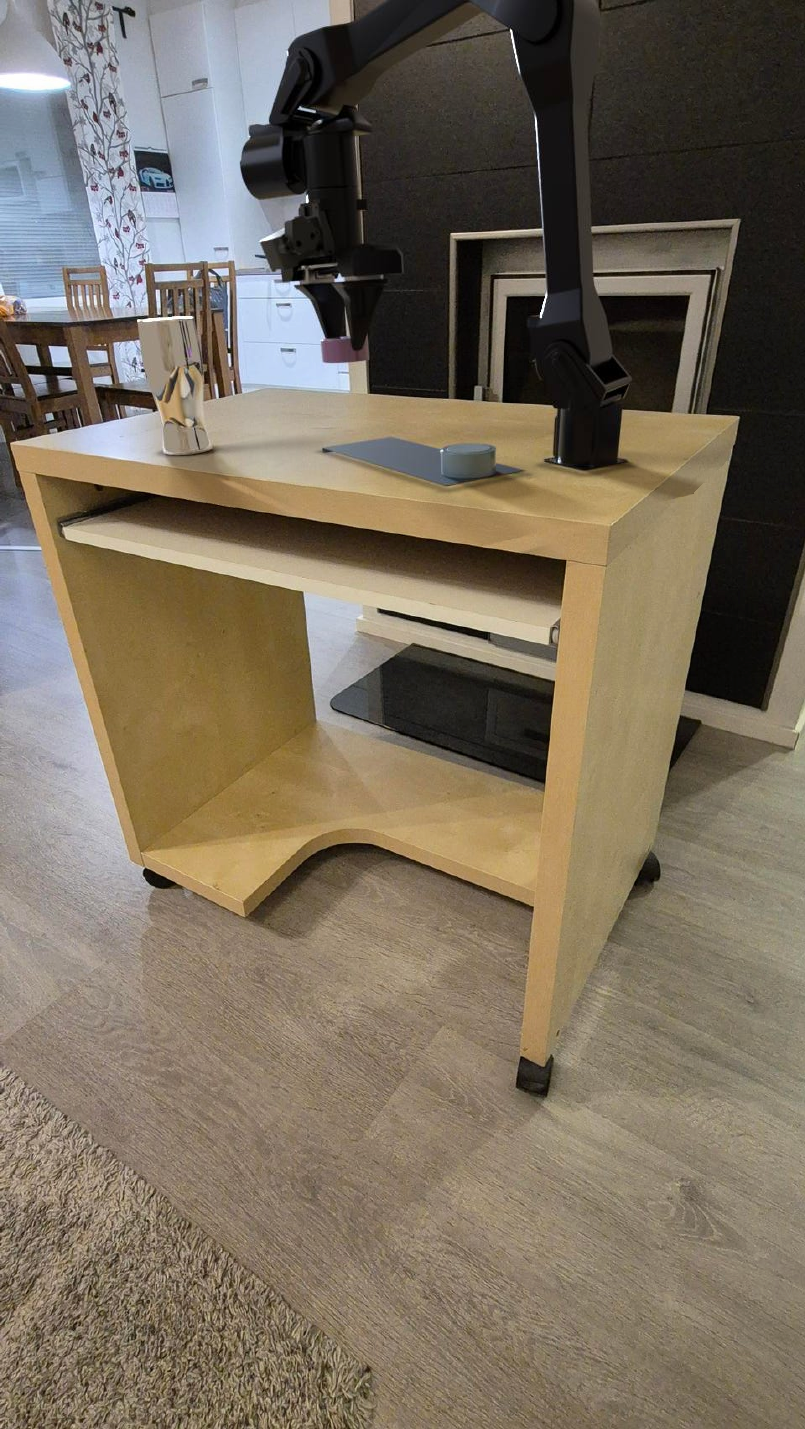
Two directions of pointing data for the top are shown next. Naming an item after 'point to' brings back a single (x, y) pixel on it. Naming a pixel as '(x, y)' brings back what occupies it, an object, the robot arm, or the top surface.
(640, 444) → the top surface
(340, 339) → the purple puck
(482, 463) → the grey-blue puck
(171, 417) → the beer glass
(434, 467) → the placemat
